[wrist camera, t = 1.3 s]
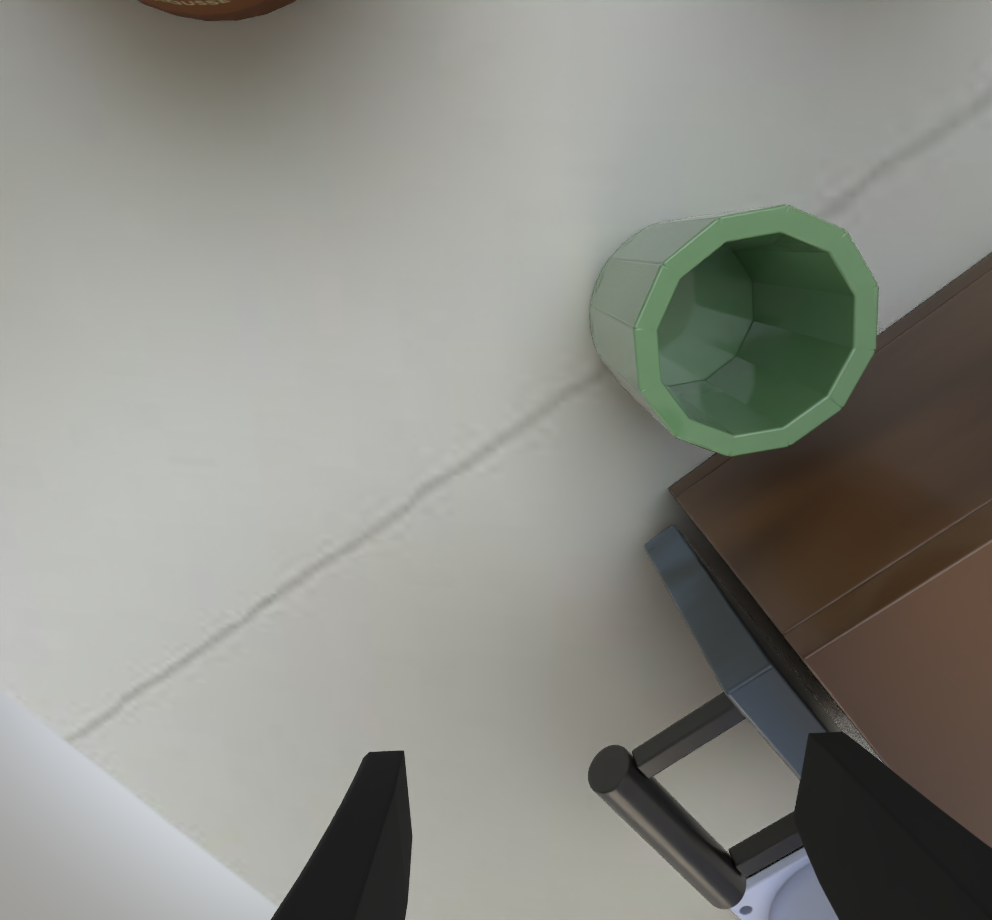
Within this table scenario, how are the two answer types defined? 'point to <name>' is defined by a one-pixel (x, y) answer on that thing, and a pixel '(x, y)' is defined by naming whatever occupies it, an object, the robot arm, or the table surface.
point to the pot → (737, 325)
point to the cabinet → (886, 546)
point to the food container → (217, 8)
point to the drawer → (712, 731)
